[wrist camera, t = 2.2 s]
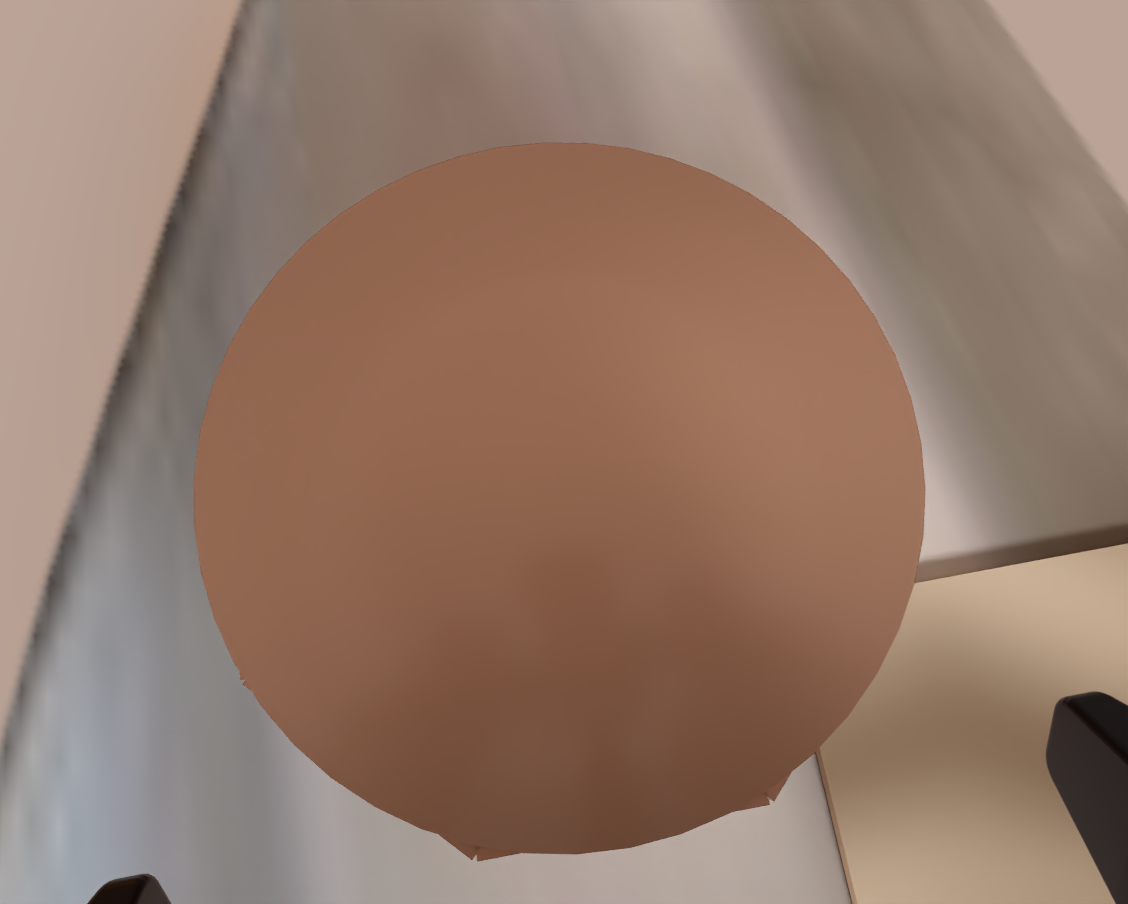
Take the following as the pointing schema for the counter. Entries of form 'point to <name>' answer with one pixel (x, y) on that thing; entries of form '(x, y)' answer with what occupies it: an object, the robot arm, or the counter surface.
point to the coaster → (977, 737)
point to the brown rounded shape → (559, 499)
